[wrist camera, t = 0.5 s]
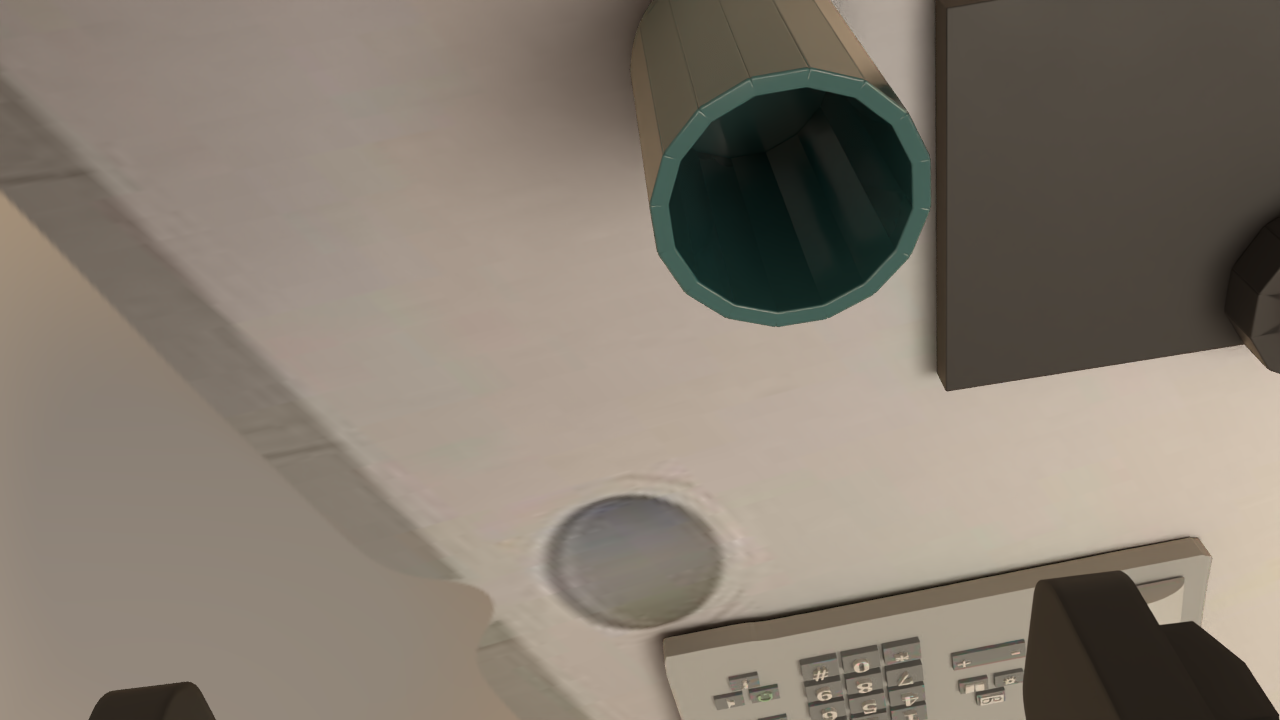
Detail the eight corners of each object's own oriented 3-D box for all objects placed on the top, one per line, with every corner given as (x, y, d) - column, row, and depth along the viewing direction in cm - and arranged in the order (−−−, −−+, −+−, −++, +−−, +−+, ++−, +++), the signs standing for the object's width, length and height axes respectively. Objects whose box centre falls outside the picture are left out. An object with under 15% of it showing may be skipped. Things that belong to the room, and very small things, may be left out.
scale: (934, -4, 33) (965, 27, 30) (1486, -100, 32) (1563, -76, 30) (936, 389, 41) (960, 439, 39) (1376, 319, 41) (1429, 365, 38)
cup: (613, -26, 32) (630, 98, 24) (835, -65, 32) (930, 46, 24) (648, 176, 36) (672, 344, 27) (846, 142, 35) (932, 302, 27)
